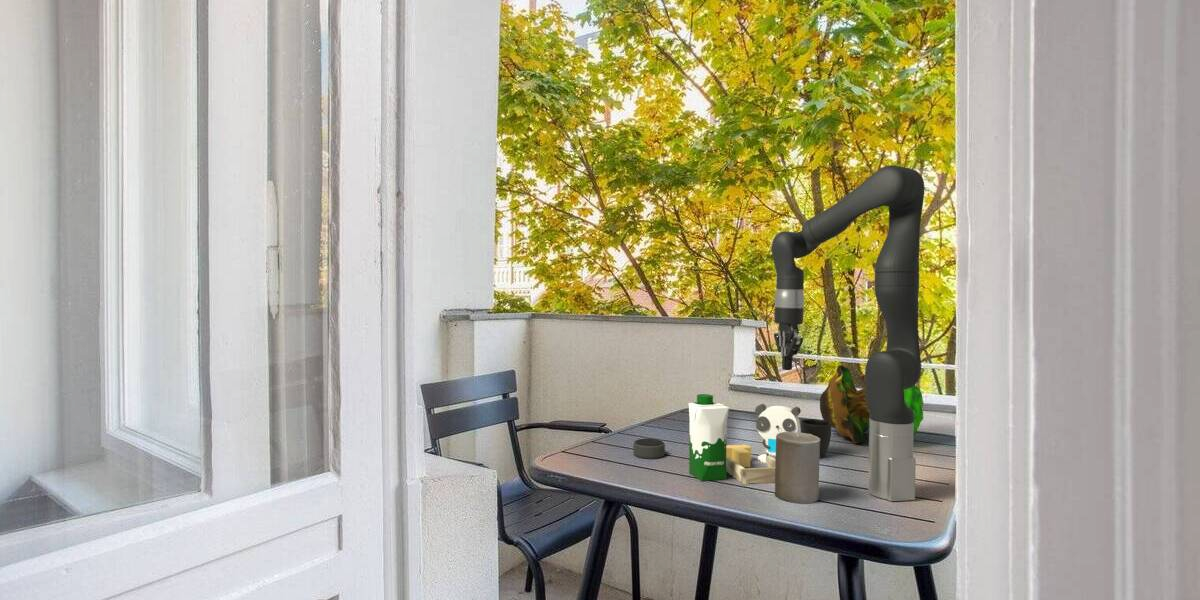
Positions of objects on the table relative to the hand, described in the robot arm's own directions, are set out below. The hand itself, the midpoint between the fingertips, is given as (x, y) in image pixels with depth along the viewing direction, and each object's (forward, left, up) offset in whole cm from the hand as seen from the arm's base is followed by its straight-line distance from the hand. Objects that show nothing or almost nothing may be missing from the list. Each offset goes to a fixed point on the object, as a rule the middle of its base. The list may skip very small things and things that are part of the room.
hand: (786, 369), depth 165 cm
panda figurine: (+2, +1, -26) cm, 26 cm away
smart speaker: (+12, +35, -26) cm, 45 cm away
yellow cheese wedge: (+1, +13, -25) cm, 29 cm away
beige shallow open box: (-11, +13, -25) cm, 30 cm away
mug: (+7, -12, -26) cm, 29 cm away
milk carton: (-8, +25, -26) cm, 37 cm away
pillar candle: (-26, +10, -26) cm, 38 cm away
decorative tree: (+19, -38, -26) cm, 50 cm away
